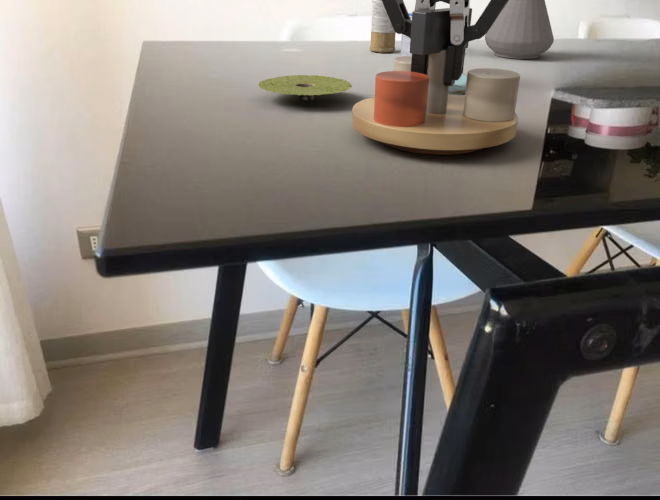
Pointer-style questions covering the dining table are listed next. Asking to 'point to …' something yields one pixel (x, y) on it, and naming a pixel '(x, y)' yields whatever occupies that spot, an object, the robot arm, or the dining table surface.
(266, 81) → the green flat disc
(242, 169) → the dining table surface
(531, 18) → the grey faceted vase
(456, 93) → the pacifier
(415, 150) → the holder base
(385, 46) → the sprinkles bottle
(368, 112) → the wooden lazy susan
